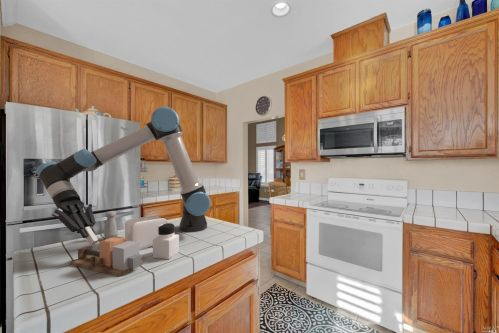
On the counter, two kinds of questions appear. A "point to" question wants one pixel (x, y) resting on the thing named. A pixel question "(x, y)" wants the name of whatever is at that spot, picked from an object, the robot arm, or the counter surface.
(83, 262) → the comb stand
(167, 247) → the medicine bottle
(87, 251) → the dark grey rod
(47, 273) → the counter surface
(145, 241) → the cable organizer
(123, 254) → the block
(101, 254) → the sleeve
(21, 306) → the counter surface
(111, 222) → the salt shaker
